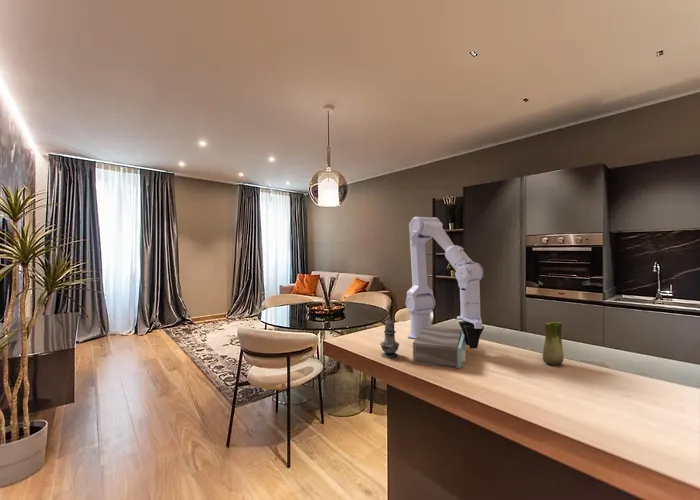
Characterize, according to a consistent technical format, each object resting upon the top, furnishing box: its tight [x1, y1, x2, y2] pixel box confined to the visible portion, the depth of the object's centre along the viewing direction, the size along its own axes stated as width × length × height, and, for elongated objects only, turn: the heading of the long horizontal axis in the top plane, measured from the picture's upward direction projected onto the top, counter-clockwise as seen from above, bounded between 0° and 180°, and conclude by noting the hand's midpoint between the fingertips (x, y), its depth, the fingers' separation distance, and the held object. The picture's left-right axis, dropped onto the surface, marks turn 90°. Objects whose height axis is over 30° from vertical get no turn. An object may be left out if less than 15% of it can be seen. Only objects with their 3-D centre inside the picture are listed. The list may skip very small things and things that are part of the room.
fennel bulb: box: [542, 321, 565, 366], centre depth 92 cm, size 6×5×12 cm
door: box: [457, 331, 467, 369], centre depth 98 cm, size 20×2×5 cm, turn 156°
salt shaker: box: [379, 316, 400, 360], centre depth 100 cm, size 6×6×12 cm
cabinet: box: [412, 326, 462, 370], centre depth 101 cm, size 20×12×6 cm, turn 157°
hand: (471, 346), depth 100 cm, fingers open, 3 cm apart
